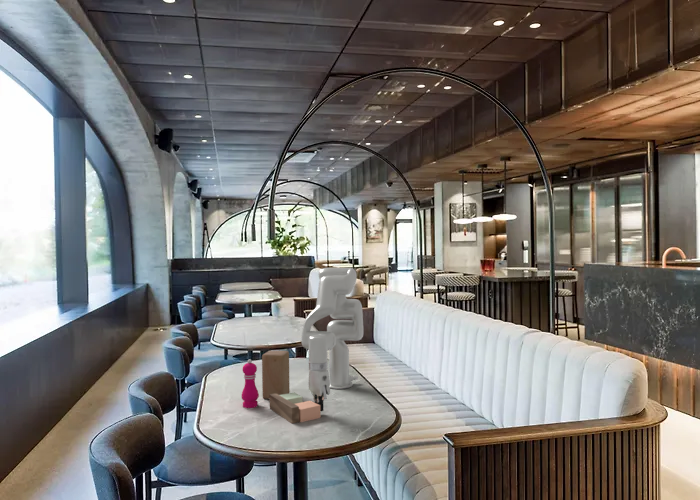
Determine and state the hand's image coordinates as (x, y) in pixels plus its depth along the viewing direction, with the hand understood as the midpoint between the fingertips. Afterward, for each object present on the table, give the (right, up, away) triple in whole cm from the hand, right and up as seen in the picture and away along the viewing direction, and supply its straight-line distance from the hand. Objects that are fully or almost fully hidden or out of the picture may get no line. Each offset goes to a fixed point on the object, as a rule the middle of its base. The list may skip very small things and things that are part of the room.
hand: (319, 410), depth 220 cm
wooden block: (-21, -2, +26) cm, 33 cm away
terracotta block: (-5, -2, -3) cm, 6 cm away
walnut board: (-14, -2, 0) cm, 14 cm away
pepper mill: (-30, -2, +12) cm, 33 cm away
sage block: (-13, -2, +10) cm, 17 cm away
